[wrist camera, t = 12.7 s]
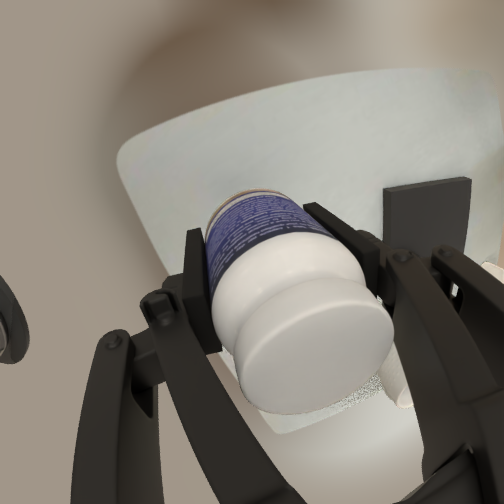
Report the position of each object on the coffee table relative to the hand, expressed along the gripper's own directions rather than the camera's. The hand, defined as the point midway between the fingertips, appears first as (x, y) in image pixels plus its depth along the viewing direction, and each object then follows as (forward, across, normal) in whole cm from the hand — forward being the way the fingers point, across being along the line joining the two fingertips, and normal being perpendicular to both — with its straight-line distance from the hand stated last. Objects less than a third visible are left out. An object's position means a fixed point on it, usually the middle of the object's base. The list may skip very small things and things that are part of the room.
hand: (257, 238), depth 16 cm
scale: (+14, +27, -10) cm, 32 cm away
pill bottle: (+1, 0, 0) cm, 1 cm away
